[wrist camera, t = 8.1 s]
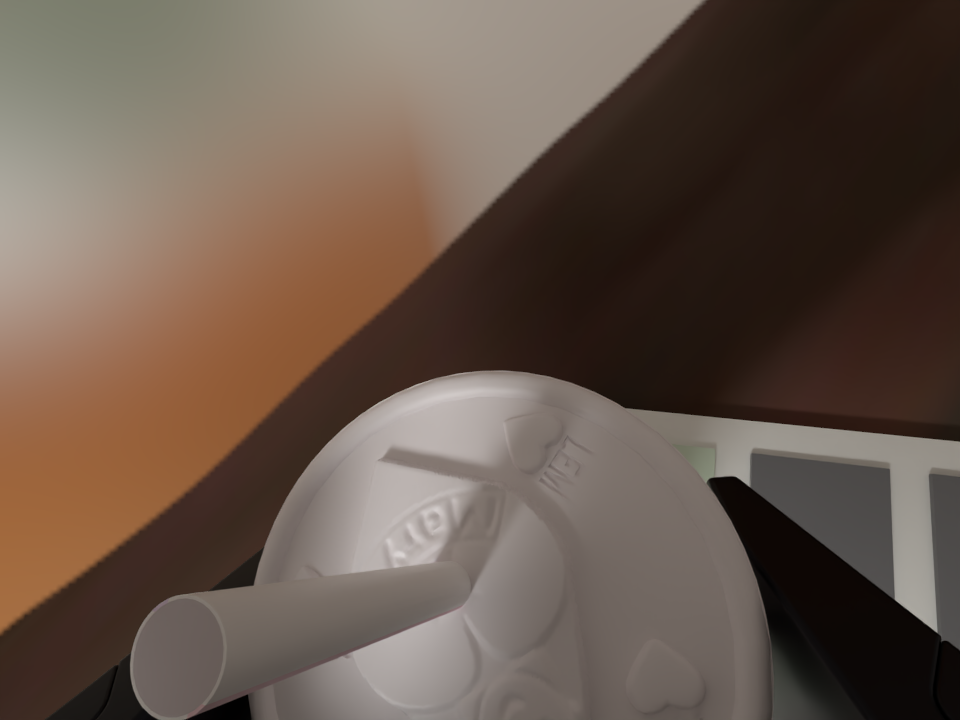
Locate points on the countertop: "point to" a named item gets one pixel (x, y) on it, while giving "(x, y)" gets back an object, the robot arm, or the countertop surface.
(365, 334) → the countertop surface
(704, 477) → the board
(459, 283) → the countertop surface
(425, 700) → the smoothie
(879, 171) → the countertop surface
